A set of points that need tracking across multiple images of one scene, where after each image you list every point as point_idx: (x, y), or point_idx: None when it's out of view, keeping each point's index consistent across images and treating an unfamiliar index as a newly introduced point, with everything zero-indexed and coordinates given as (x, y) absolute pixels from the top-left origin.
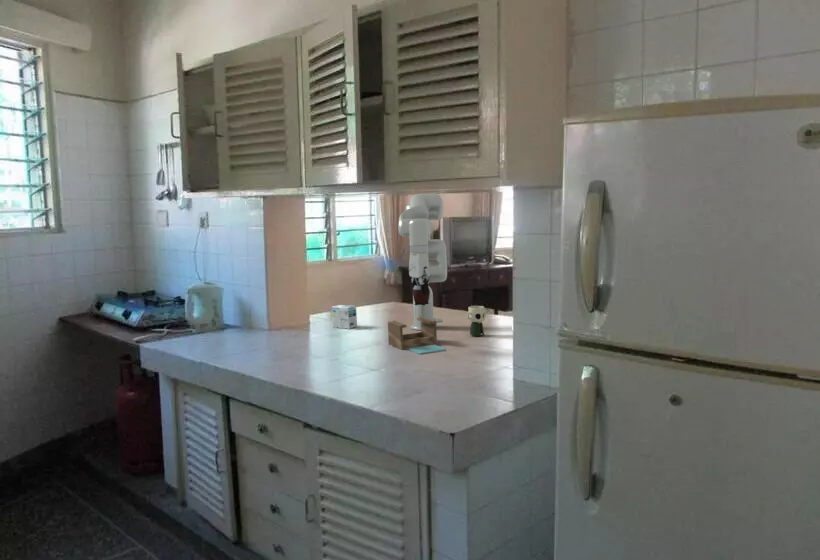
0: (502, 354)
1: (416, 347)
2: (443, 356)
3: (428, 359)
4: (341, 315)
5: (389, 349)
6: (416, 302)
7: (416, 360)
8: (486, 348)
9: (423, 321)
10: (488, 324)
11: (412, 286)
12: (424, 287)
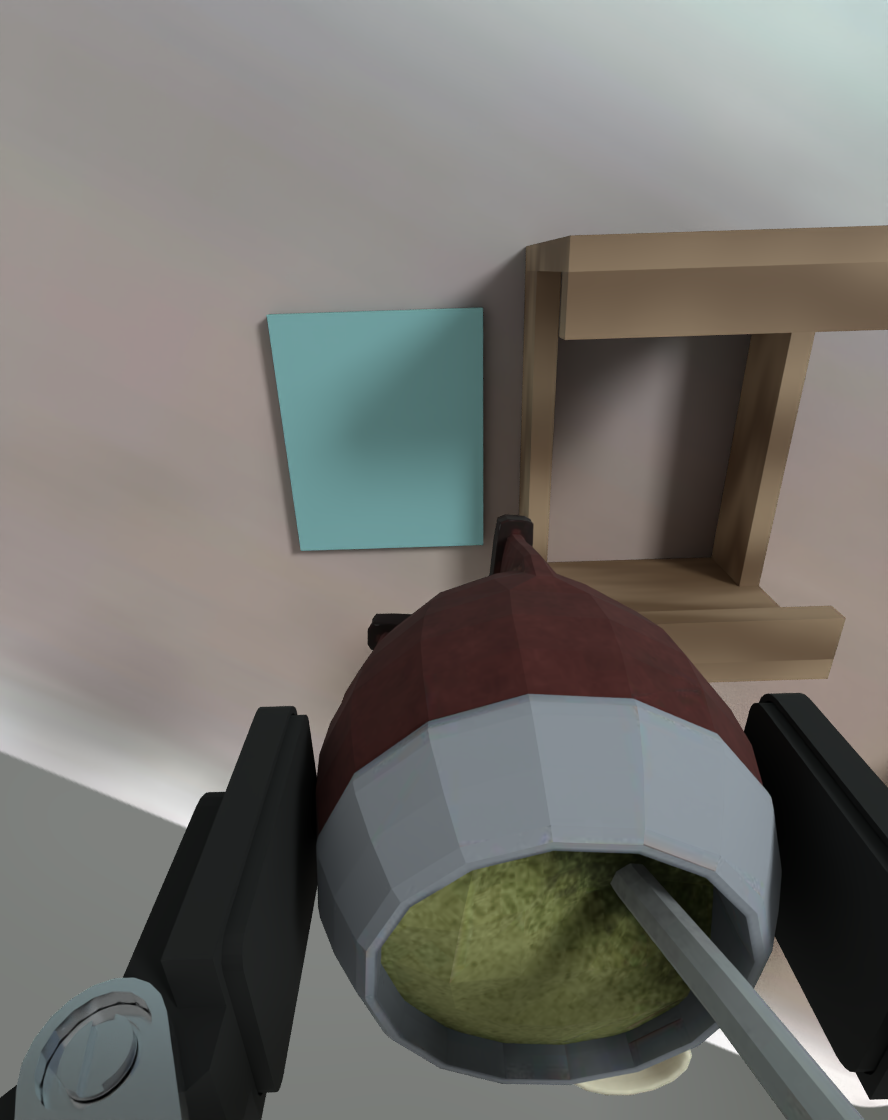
0: (52, 757)
1: (469, 383)
2: (128, 446)
3: (70, 295)
4: None
5: (601, 144)
6: (503, 563)
7: (67, 179)
8: (237, 759)
9: (686, 614)
10: (778, 997)
11: (882, 808)
12: (158, 911)
